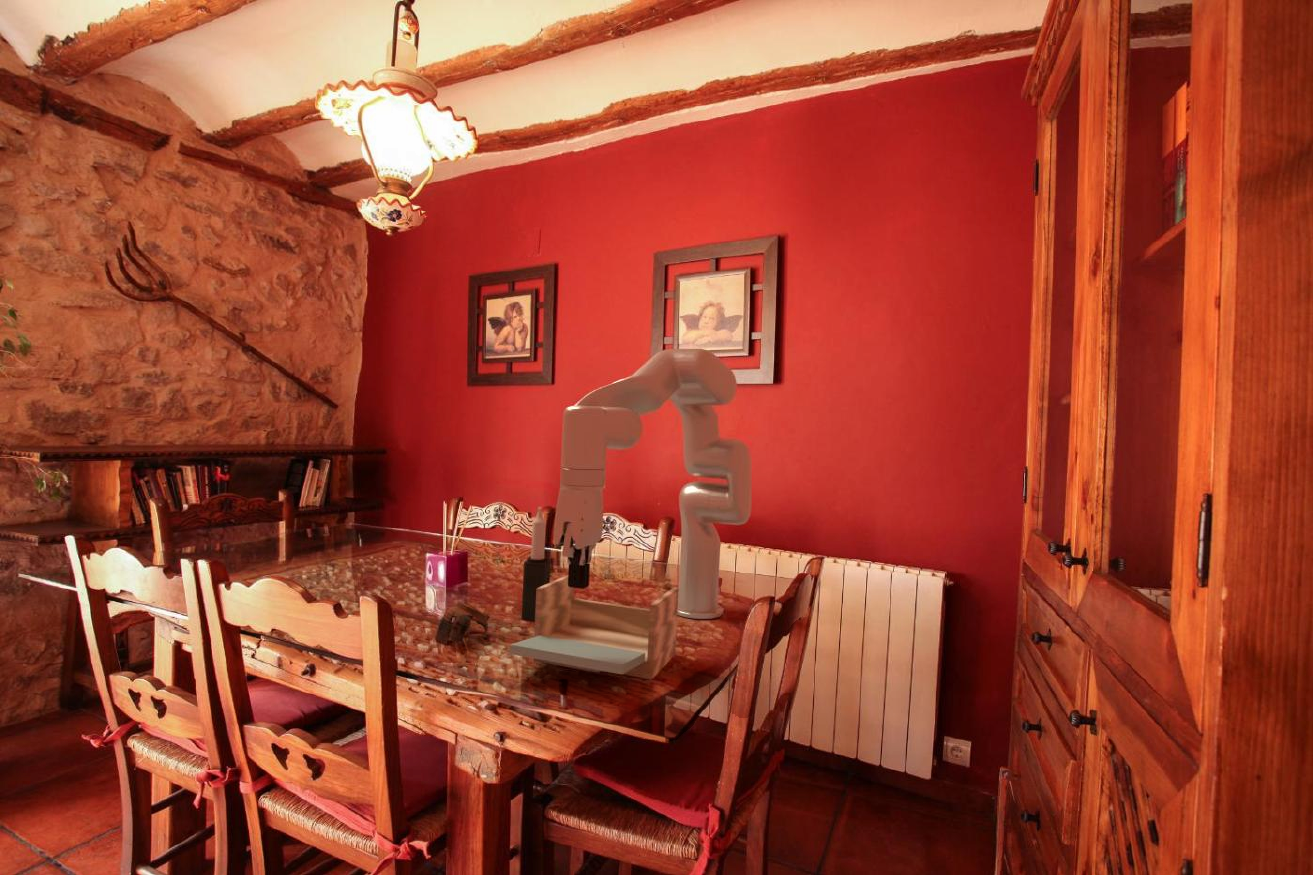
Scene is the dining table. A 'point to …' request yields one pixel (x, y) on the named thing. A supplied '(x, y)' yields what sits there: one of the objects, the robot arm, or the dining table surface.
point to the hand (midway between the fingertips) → (578, 586)
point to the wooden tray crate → (610, 624)
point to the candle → (535, 568)
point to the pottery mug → (459, 622)
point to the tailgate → (578, 654)
